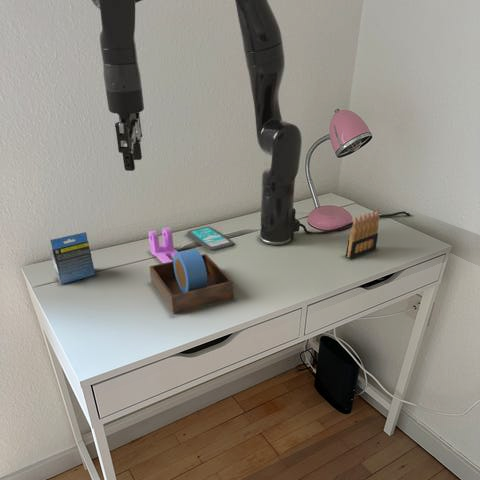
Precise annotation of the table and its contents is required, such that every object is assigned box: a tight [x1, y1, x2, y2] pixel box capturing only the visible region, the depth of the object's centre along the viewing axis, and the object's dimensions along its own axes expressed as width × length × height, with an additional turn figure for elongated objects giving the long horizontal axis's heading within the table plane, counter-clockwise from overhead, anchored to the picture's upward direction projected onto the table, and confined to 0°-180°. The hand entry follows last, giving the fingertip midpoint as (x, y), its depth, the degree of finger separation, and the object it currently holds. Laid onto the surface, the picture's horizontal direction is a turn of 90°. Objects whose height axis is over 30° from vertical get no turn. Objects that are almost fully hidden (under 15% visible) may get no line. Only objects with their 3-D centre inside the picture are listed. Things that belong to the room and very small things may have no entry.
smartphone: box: [186, 226, 234, 252], centre depth 138 cm, size 9×1×15 cm
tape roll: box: [172, 248, 207, 293], centre depth 111 cm, size 5×10×10 cm, turn 27°
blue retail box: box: [50, 231, 96, 285], centre depth 116 cm, size 9×4×12 cm, turn 123°
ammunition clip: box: [345, 209, 380, 260], centre depth 128 cm, size 11×2×12 cm, turn 126°
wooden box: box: [149, 253, 234, 315], centre depth 112 cm, size 15×16×5 cm
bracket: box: [148, 226, 178, 263], centre depth 126 cm, size 13×6×7 cm, turn 33°
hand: (133, 164), depth 107 cm, fingers open, 8 cm apart
